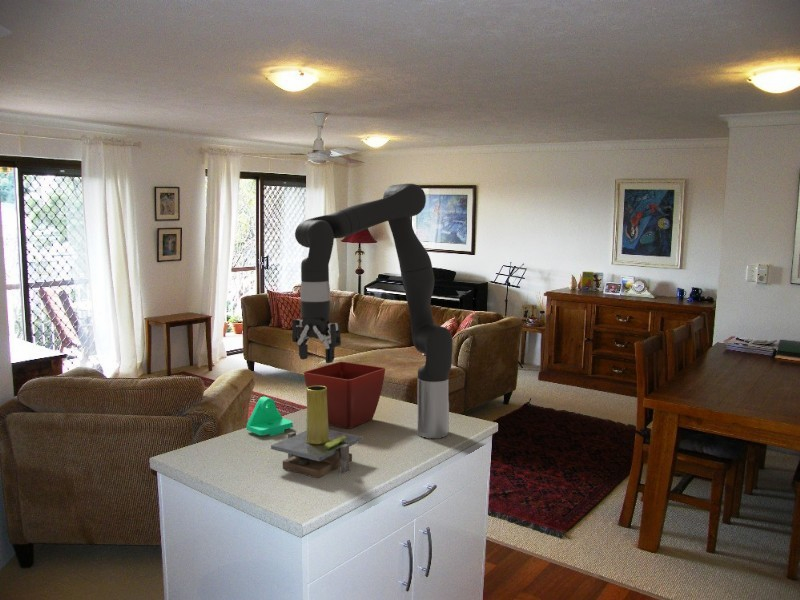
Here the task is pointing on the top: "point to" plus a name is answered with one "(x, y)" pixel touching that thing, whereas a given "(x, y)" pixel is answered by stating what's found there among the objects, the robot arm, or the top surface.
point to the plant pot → (348, 391)
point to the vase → (317, 415)
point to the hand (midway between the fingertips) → (316, 360)
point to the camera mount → (267, 419)
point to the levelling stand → (319, 462)
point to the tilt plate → (313, 451)
